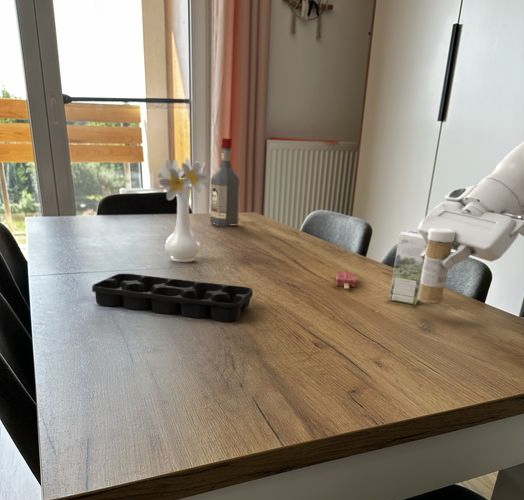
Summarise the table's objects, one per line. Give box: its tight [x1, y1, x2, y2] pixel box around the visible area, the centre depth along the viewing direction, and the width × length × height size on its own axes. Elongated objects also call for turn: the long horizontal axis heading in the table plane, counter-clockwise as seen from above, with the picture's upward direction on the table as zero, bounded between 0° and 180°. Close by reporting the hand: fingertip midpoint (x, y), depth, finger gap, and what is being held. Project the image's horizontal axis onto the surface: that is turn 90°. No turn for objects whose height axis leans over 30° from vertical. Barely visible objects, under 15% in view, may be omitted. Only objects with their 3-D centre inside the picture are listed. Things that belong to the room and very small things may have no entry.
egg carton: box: [91, 273, 254, 323], centre depth 98 cm, size 18×30×4 cm, turn 89°
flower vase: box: [157, 157, 211, 263], centre depth 130 cm, size 13×18×25 cm
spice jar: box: [418, 228, 455, 305], centre depth 94 cm, size 5×5×14 cm
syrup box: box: [388, 229, 428, 305], centre depth 109 cm, size 6×6×14 cm
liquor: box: [209, 137, 241, 228], centre depth 187 cm, size 9×9×30 cm
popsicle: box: [335, 270, 357, 290], centre depth 121 cm, size 4×2×15 cm
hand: (433, 262), depth 94 cm, fingers closed on spice jar, 4 cm apart
